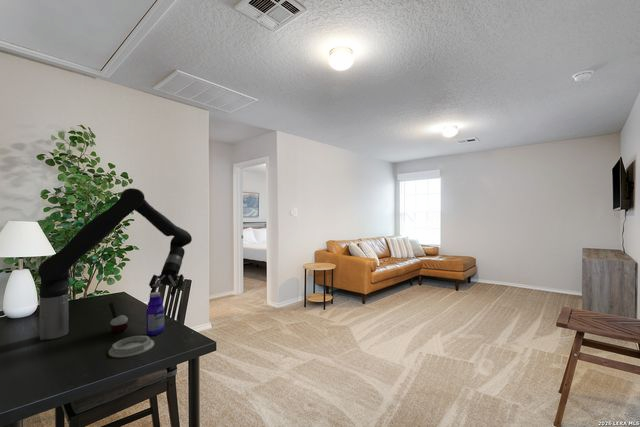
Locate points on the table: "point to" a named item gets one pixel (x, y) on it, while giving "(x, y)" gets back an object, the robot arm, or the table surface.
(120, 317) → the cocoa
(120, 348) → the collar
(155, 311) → the bottle
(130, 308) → the table surface
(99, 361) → the table surface
